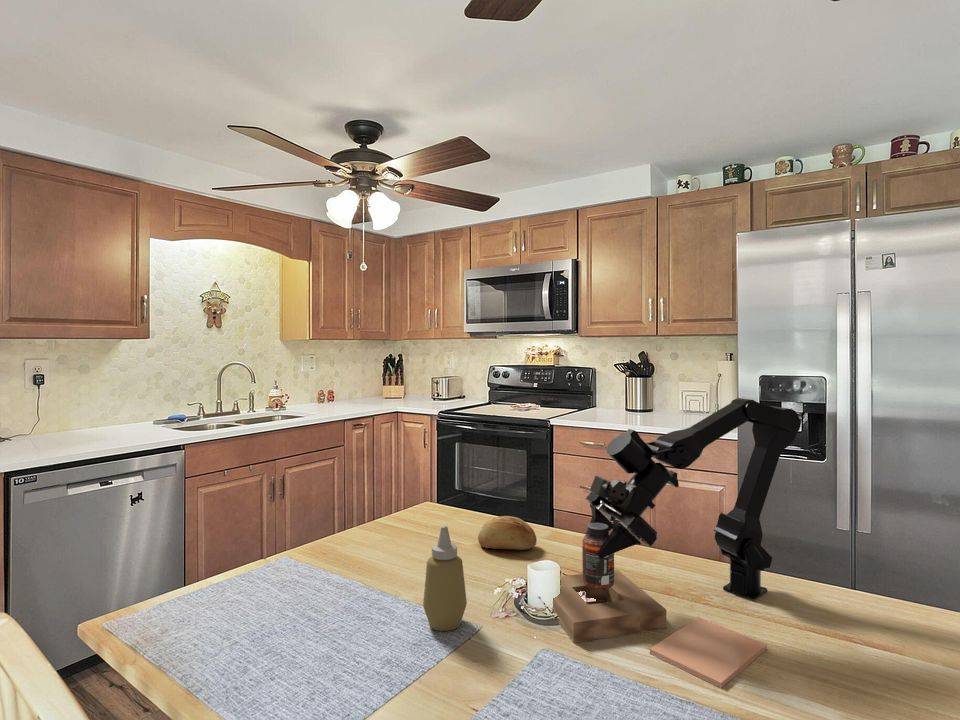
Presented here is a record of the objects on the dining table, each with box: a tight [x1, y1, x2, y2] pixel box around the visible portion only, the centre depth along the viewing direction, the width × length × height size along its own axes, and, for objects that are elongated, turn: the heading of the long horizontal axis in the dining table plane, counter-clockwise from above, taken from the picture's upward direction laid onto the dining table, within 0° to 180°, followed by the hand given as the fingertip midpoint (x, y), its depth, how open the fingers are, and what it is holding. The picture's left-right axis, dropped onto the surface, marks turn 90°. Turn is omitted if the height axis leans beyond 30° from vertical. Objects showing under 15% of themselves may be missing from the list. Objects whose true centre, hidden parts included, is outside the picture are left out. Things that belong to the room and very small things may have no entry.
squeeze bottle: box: [422, 525, 468, 632], centre depth 99 cm, size 8×8×18 cm
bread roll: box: [477, 515, 537, 550], centre depth 137 cm, size 10×15×8 cm, turn 81°
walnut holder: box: [553, 569, 667, 644], centre depth 104 cm, size 18×18×4 cm
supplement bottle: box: [581, 523, 615, 590], centre depth 104 cm, size 6×6×11 cm
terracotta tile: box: [649, 616, 768, 689], centre depth 90 cm, size 16×12×1 cm
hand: (591, 550), depth 103 cm, fingers closed on supplement bottle, 6 cm apart
